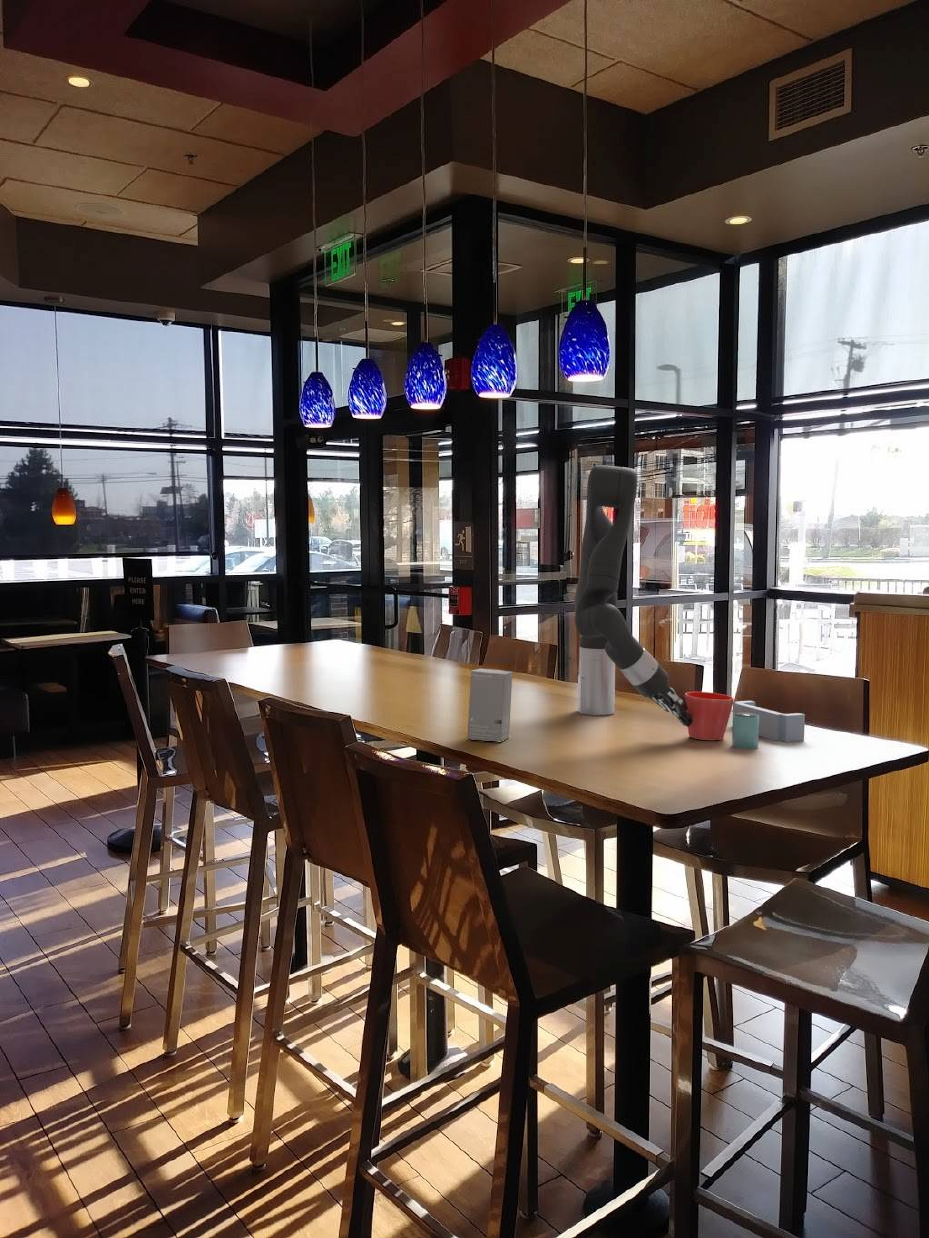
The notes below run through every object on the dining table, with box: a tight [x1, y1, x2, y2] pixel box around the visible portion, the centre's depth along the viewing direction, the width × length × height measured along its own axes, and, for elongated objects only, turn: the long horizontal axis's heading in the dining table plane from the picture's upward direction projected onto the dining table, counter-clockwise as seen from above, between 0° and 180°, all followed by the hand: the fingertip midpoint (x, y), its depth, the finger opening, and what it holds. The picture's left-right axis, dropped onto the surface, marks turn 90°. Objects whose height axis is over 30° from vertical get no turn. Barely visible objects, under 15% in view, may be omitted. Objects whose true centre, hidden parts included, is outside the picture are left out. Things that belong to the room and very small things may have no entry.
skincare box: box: [467, 668, 514, 742], centre depth 227 cm, size 8×7×16 cm
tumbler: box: [731, 713, 759, 750], centre depth 221 cm, size 6×6×7 cm
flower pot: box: [684, 691, 735, 741], centre depth 230 cm, size 11×11×10 cm
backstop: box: [732, 700, 806, 743], centre depth 236 cm, size 6×20×6 cm, turn 21°
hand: (689, 723), depth 228 cm, fingers closed
